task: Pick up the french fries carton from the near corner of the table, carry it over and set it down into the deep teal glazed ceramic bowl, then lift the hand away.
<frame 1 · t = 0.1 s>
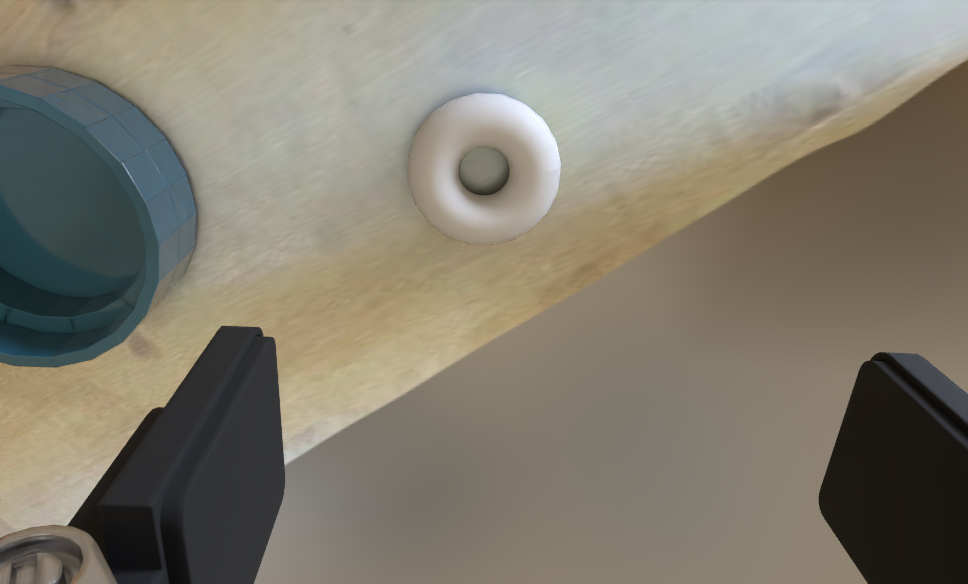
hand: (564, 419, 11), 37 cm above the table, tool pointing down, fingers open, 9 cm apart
bowl: (65, 201, 47), on the table
donut: (483, 164, 47), on the table
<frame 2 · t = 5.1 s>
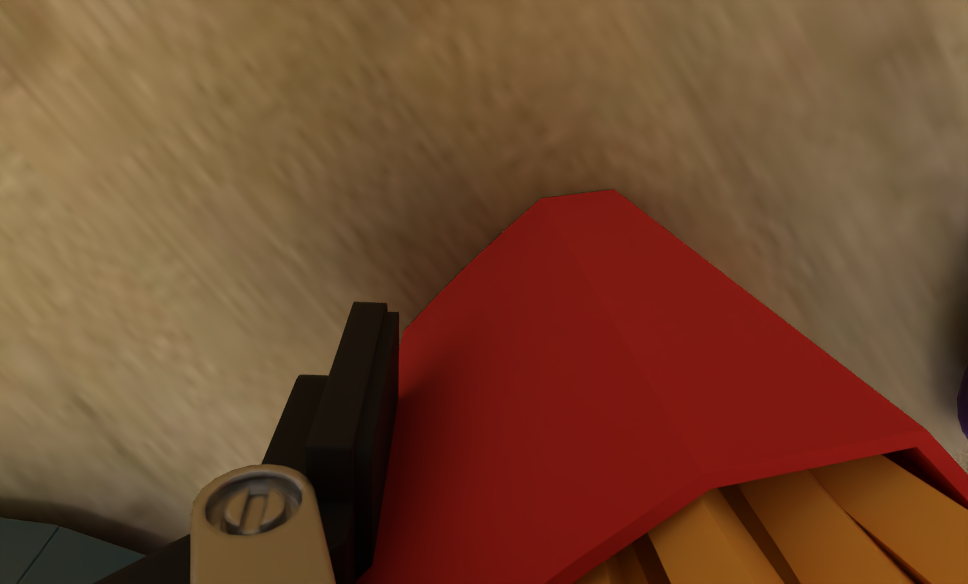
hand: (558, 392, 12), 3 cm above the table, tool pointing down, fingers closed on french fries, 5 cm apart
french fries: (538, 310, 15), on the table, touching gripper
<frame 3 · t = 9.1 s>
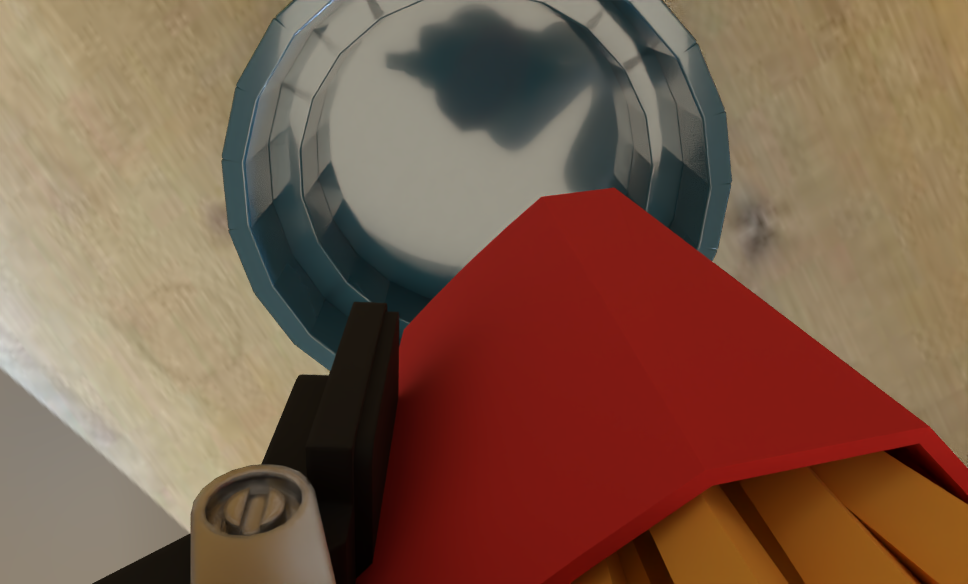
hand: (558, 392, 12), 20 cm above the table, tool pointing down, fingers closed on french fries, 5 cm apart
bowl: (475, 158, 31), on the table
french fries: (538, 308, 15), point 17 cm above the table, touching gripper
when the fingers open (4 cm above the table, at t = 13.3 s): french fries stays where it is, resting on bowl.
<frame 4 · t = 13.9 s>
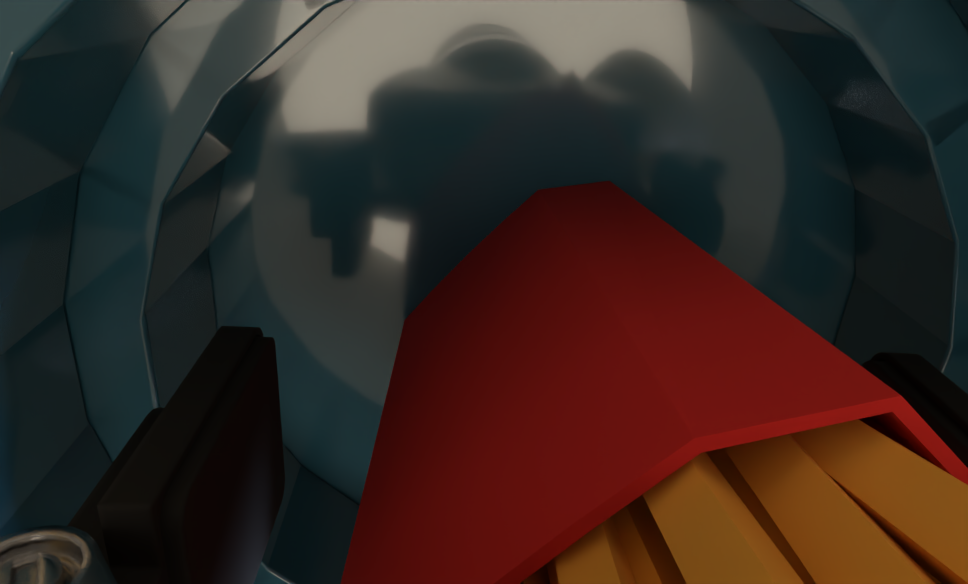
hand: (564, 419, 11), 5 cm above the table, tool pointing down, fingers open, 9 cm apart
bowl: (532, 290, 15), on the table
french fries: (535, 299, 15), resting on bowl
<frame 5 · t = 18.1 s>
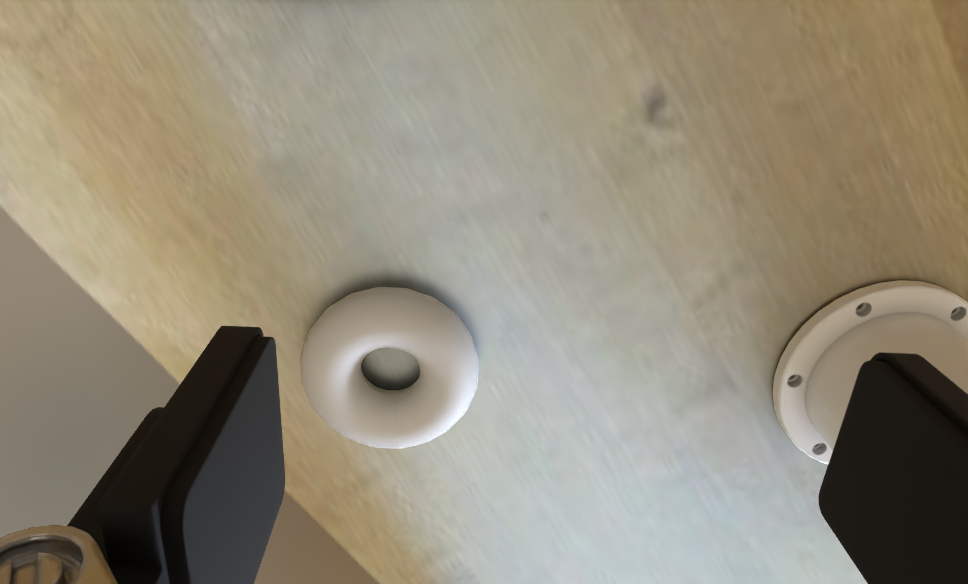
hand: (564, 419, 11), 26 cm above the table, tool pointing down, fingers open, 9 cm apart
donut: (393, 353, 41), on the table
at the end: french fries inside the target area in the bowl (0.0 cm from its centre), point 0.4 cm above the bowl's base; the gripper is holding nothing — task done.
